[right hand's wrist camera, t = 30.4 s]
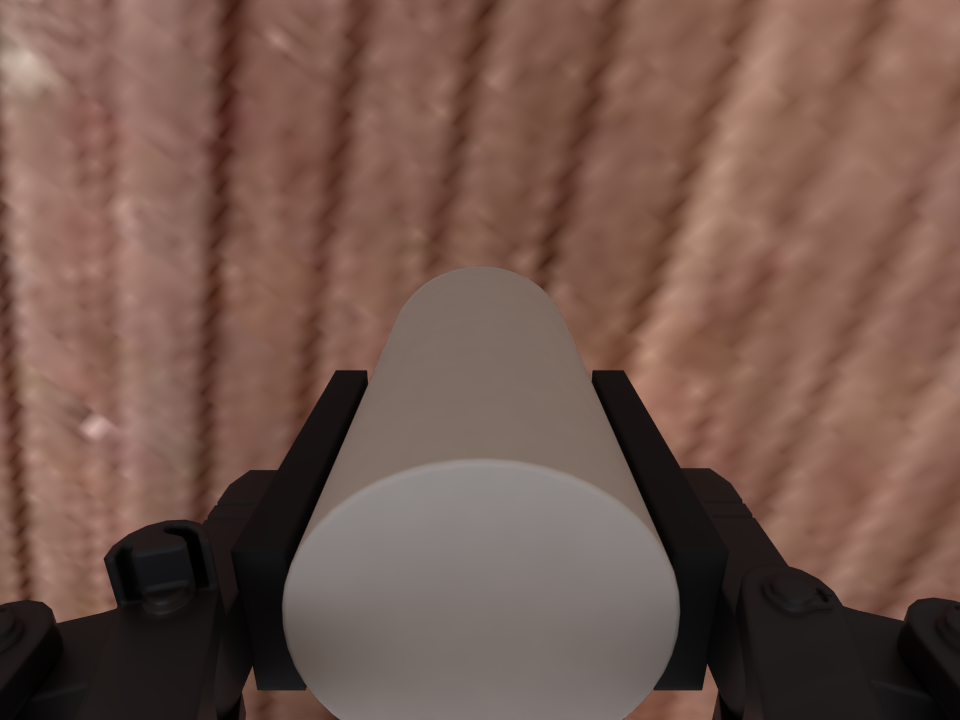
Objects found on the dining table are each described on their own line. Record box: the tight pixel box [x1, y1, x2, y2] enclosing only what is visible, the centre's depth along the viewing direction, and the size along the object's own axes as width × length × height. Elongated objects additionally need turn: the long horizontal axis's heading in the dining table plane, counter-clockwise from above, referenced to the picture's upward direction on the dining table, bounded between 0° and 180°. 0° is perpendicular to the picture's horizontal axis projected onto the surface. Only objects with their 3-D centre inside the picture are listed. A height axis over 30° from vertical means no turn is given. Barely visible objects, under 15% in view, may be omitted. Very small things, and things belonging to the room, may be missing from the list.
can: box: [282, 266, 680, 720], centre depth 13 cm, size 6×6×11 cm
